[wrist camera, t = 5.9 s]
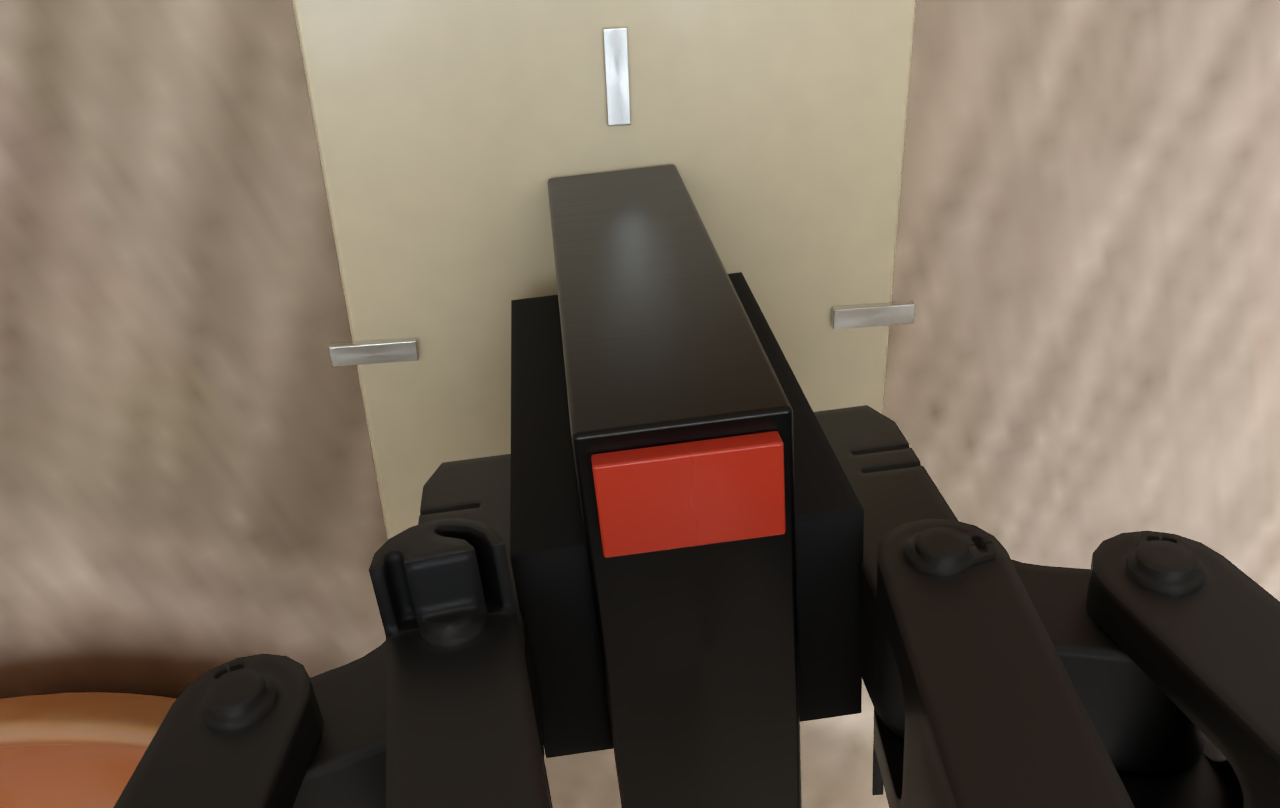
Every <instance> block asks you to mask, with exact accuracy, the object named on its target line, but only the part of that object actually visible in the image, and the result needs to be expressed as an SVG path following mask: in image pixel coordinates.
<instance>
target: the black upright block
mask: <svg viewBox="0 0 1280 808" xmlns="http://www.w3.org/2000/svg"><path fill="white" fill-rule="evenodd" d="M547 184H548V195H549V206H550V216H551V227H552V237H553V248H554V259H555V269H556V280H557V290H558V301H559V311H560V322H561V333H562V343H563V354H564V364H565V375H566V385H567V396H568V407H569V417H570V428H571V438H572V446H573V453H574V460H575V468H576V475H577V482H578V490H579V497H580V504H581V512H582V519H583V526H584V534H585V541H586V548H587V556H588V563H589V571H590V578H591V585H592V593H593V600H594V607H595V615H596V622H597V629H598V637H599V644H600V651H601V659H602V666H603V673H604V681H605V688H606V695H607V703H608V710H609V717H610V725H611V732H612V739H613V747H614V754H615V761H616V769H617V776H618V783H619V791H620V798H621V805H622V808H802V807H801V761H800V716H799V670H798V624H797V579H796V533H795V487H794V442H793V410H792V408H791V405H790V403H789V401H788V399H787V397H786V395H785V393H784V391H783V389H782V387H781V385H780V383H779V380H778V378H777V376H776V374H775V372H774V370H773V368H772V366H771V364H770V362H769V360H768V357H767V355H766V353H765V351H764V349H763V347H762V345H761V343H760V341H759V339H758V337H757V335H756V332H755V330H754V328H753V326H752V324H751V322H750V320H749V318H748V316H747V314H746V312H745V310H744V307H743V305H742V303H741V301H740V299H739V297H738V295H737V293H736V291H735V289H734V287H733V284H732V282H731V280H730V278H729V276H728V274H727V272H726V270H725V268H724V266H723V264H722V262H721V259H720V257H719V255H718V253H717V251H716V249H715V247H714V245H713V243H712V241H711V239H710V237H709V234H708V232H707V230H706V228H705V226H704V224H703V222H702V220H701V218H700V216H699V214H698V211H697V209H696V207H695V205H694V203H693V201H692V199H691V197H690V195H689V193H688V191H687V189H686V186H685V184H684V182H683V180H682V178H681V176H680V174H679V172H678V170H677V168H676V166H675V165H664V166H655V167H647V168H638V169H629V170H621V171H612V172H603V173H595V174H586V175H577V176H569V177H560V178H551V179H549V180H548V182H547Z"/></svg>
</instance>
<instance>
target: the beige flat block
mask: <svg viewBox="0 0 1280 808" xmlns="http://www.w3.org/2000/svg"><path fill="white" fill-rule="evenodd" d="M292 3H293V9H294V14H295V20H296V26H297V31H298V37H299V43H300V48H301V54H302V60H303V65H304V71H305V77H306V82H307V88H308V93H309V99H310V105H311V110H312V116H313V122H314V127H315V133H316V139H317V144H318V150H319V156H320V161H321V167H322V172H323V178H324V184H325V189H326V195H327V201H328V206H329V212H330V218H331V223H332V229H333V235H334V240H335V246H336V251H337V257H338V263H339V268H340V274H341V280H342V285H343V291H344V297H345V302H346V308H347V314H348V319H349V325H350V330H351V336H352V342H346V343H332V344H330V345H329V352H330V358H331V363H332V367H338V366H351V365H357V370H358V376H359V381H360V387H361V393H362V398H363V404H364V409H365V415H366V421H367V426H368V432H369V438H370V443H371V449H372V455H373V460H374V466H375V472H376V477H377V483H378V488H379V494H380V500H381V505H382V511H383V517H384V522H385V528H386V534H387V539H388V540H389V539H390V538H392V537H394V536H395V535H397V534H399V533H401V532H403V531H404V530H406V529H408V528H410V527H412V526H416V525H418V521H419V515H420V506H421V499H422V492H423V486H424V485H425V483H426V482H427V481H428V480H429V478H430V477H431V476H432V475H433V473H434V472H435V471H436V470H437V468H438V467H439V466H440V465H441V464H442V463H443V462H451V461H459V460H466V459H474V458H482V457H490V456H497V455H505V454H511V300H518V299H526V298H534V297H542V296H551V295H558V290H557V280H556V269H555V259H554V248H553V237H552V227H551V216H550V206H549V195H548V184H547V182H548V180H549V179H551V178H560V177H569V176H577V175H586V174H595V173H603V172H612V171H621V170H629V169H638V168H647V167H655V166H664V165H675V166H676V168H677V170H678V172H679V174H680V176H681V178H682V180H683V182H684V184H685V186H686V189H687V191H688V193H689V195H690V197H691V199H692V201H693V203H694V205H695V207H696V209H697V211H698V214H699V216H700V218H701V220H702V222H703V224H704V226H705V228H706V230H707V232H708V234H709V237H710V239H711V241H712V243H713V245H714V247H715V249H716V251H717V253H718V255H719V257H720V259H721V262H722V264H723V266H724V268H725V270H726V272H727V274H731V273H739V272H742V274H743V276H744V278H745V280H746V282H747V284H748V285H749V287H750V289H751V291H752V293H753V295H754V297H755V299H756V301H757V303H758V305H759V307H760V309H761V311H762V313H763V315H764V317H765V319H766V321H767V323H768V324H769V326H770V328H771V330H772V332H773V334H774V336H775V338H776V340H777V342H778V344H779V346H780V348H781V350H782V352H783V354H784V356H785V358H786V360H787V361H788V363H789V365H790V367H791V369H792V371H793V373H794V375H795V377H796V379H797V381H798V383H799V385H800V387H801V389H802V391H803V393H804V395H805V397H806V398H807V400H808V402H809V404H810V406H811V408H812V410H813V412H817V411H825V410H833V409H841V408H848V407H856V406H864V405H868V406H869V407H871V408H873V409H874V410H876V411H878V412H879V413H881V414H882V409H883V397H884V385H885V373H886V360H887V348H888V336H889V325H897V324H910V323H914V316H915V303H914V302H913V301H904V302H891V300H892V288H893V276H894V263H895V251H896V239H897V227H898V215H899V203H900V191H901V178H902V166H903V154H904V142H905V130H906V118H907V106H908V93H909V81H910V69H911V57H912V45H913V33H914V21H915V8H916V0H292Z"/></svg>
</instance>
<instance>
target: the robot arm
mask: <svg viewBox="0 0 1280 808" xmlns="http://www.w3.org/2000/svg"><path fill="white" fill-rule="evenodd" d="M728 276H729V278H730V280H731V282H732V284H733V287H734V289H735V291H736V293H737V295H738V297H739V299H740V301H741V303H742V305H743V307H744V310H745V312H746V314H747V316H748V318H749V320H750V322H751V324H752V326H753V328H754V330H755V332H756V335H757V337H758V339H759V341H760V343H761V345H762V347H763V349H764V351H765V353H766V355H767V357H768V360H769V362H770V364H771V366H772V368H773V370H774V372H775V374H776V376H777V378H778V380H779V383H780V385H781V387H782V389H783V391H784V393H785V395H786V397H787V399H788V401H789V403H790V405H791V408H792V410H793V442H794V487H795V533H796V579H797V624H798V670H799V716H800V721H807V720H814V719H821V718H828V717H835V716H843V715H850V714H857V713H861V689H862V679H863V681H864V684H865V686H866V688H867V691H868V693H869V696H870V698H871V701H872V703H873V705H874V744H873V795H881V794H883V784H884V788H885V792H886V796H887V800H888V804H889V808H1280V602H1279V601H1278V600H1277V599H1276V598H1274V597H1273V596H1272V595H1271V594H1269V593H1268V592H1267V591H1266V590H1264V589H1263V588H1262V587H1261V586H1259V585H1258V584H1257V583H1256V582H1255V581H1253V580H1252V579H1251V578H1250V577H1248V576H1247V575H1246V574H1245V573H1243V572H1242V571H1241V570H1240V569H1238V568H1237V567H1236V566H1235V565H1233V564H1232V563H1231V562H1230V561H1229V560H1227V559H1226V558H1225V557H1224V556H1222V555H1220V554H1219V553H1217V552H1215V551H1214V550H1212V549H1210V548H1209V547H1207V546H1205V545H1204V544H1202V543H1200V542H1197V541H1194V540H1191V539H1188V538H1185V537H1181V536H1178V535H1175V534H1169V533H1163V532H1162V533H1160V532H1152V531H1141V532H1131V533H1122V534H1119V535H1117V536H1114V537H1112V538H1110V539H1107V540H1105V541H1103V542H1102V543H1101V544H1100V546H1099V547H1098V548H1097V549H1096V550H1095V552H1094V553H1093V556H1092V563H1091V570H1090V569H1076V568H1063V567H1050V566H1040V565H1033V564H1026V563H1021V562H1018V561H1014V560H1011V559H1010V557H1009V555H1008V553H1007V551H1006V549H1005V548H1004V547H1003V546H1002V545H1001V544H1000V542H999V541H998V540H997V539H996V538H995V537H994V536H992V535H991V534H989V533H987V532H985V531H983V530H982V529H980V528H978V527H976V526H974V525H970V524H966V523H962V522H959V521H958V520H957V518H956V517H955V515H954V514H953V512H952V510H951V509H950V507H949V506H948V504H947V503H946V501H945V500H944V498H943V496H942V495H941V493H940V492H939V490H938V489H937V487H936V485H935V484H934V482H933V481H932V479H931V478H930V476H929V475H928V473H927V471H926V470H925V468H924V467H923V466H921V465H920V461H919V459H918V457H917V456H916V454H915V453H914V451H913V450H912V448H909V443H908V442H907V440H906V439H905V437H904V436H903V434H902V433H901V431H900V429H899V428H898V426H897V425H896V423H895V422H894V421H892V420H891V419H889V418H887V417H886V416H884V415H882V414H881V413H879V412H878V411H876V410H874V409H873V408H871V407H869V406H868V405H864V406H856V407H848V408H841V409H833V410H825V411H817V412H813V410H812V408H811V406H810V404H809V402H808V400H807V398H806V397H805V395H804V393H803V391H802V389H801V387H800V385H799V383H798V381H797V379H796V377H795V375H794V373H793V371H792V369H791V367H790V365H789V363H788V361H787V360H786V358H785V356H784V354H783V352H782V350H781V348H780V346H779V344H778V342H777V340H776V338H775V336H774V334H773V332H772V330H771V328H770V326H769V324H768V323H767V321H766V319H765V317H764V315H763V313H762V311H761V309H760V307H759V305H758V303H757V301H756V299H755V297H754V295H753V293H752V291H751V289H750V287H749V285H748V284H747V282H746V280H745V278H744V276H743V274H742V272H739V273H731V274H728ZM369 572H370V576H371V580H372V584H373V588H374V592H375V595H376V599H377V603H378V607H379V611H380V615H381V619H382V622H383V626H384V630H385V634H386V641H385V642H384V643H383V644H382V645H381V646H379V647H378V648H376V649H375V650H373V651H372V652H370V653H369V654H367V655H366V656H364V657H362V658H360V659H357V660H355V661H353V662H351V663H349V664H346V665H344V666H341V667H339V668H336V669H333V670H330V671H328V672H325V673H322V674H320V675H317V676H314V677H311V678H309V676H308V674H307V672H306V670H305V668H304V666H303V665H302V664H300V663H298V662H296V661H294V660H293V659H291V658H289V657H287V656H280V655H270V654H260V655H254V656H248V657H243V658H237V659H235V660H232V661H230V662H227V663H225V664H223V665H220V666H218V667H215V668H213V669H211V670H209V671H208V672H206V673H205V674H204V675H202V676H201V677H199V678H198V679H196V680H195V681H194V682H192V683H191V684H189V685H188V686H187V687H186V688H185V690H184V691H183V692H182V693H181V695H180V696H179V697H178V698H177V699H176V701H175V702H174V703H173V704H172V706H171V708H170V709H169V711H168V713H167V715H166V716H165V718H164V720H163V722H162V723H161V725H160V727H159V729H158V730H157V732H156V734H155V736H154V737H153V739H152V741H151V743H150V744H149V746H148V748H147V750H146V751H145V753H144V755H143V757H142V758H141V760H140V762H139V764H138V765H137V767H136V769H135V771H134V772H133V774H132V776H131V778H130V779H129V781H128V783H127V785H126V786H125V788H124V790H123V792H122V793H121V795H120V797H119V799H118V800H117V802H116V804H115V806H114V807H113V808H553V807H552V802H551V796H550V790H549V785H548V779H547V774H546V768H545V762H544V748H545V754H546V758H549V757H556V756H563V755H570V754H577V753H584V752H591V751H598V750H605V749H612V748H614V747H613V739H612V732H611V725H610V717H609V710H608V703H607V695H606V688H605V681H604V673H603V666H602V659H601V651H600V644H599V637H598V629H597V622H596V615H595V607H594V600H593V593H592V585H591V578H590V571H589V563H588V556H587V548H586V541H585V534H584V526H583V519H582V512H581V504H580V497H579V490H578V482H577V475H576V468H575V460H574V453H573V446H572V438H571V428H570V417H569V407H568V396H567V385H566V375H565V364H564V354H563V343H562V333H561V322H560V311H559V301H558V295H551V296H542V297H534V298H526V299H518V300H511V454H505V455H497V456H490V457H482V458H474V459H466V460H459V461H451V462H443V463H442V464H441V465H440V466H439V467H438V468H437V470H436V471H435V472H434V473H433V475H432V476H431V477H430V478H429V480H428V481H427V482H426V483H425V485H424V486H423V492H422V499H421V506H420V515H419V521H418V525H416V526H412V527H410V528H408V529H406V530H404V531H403V532H401V533H399V534H397V535H395V536H394V537H392V538H390V539H389V540H388V541H387V542H386V543H385V544H384V545H383V546H382V547H381V548H380V549H379V550H378V551H377V552H376V553H375V554H374V557H373V560H372V563H371V566H370V568H369Z"/></svg>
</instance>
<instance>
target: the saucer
mask: <svg viewBox="0 0 1280 808" xmlns="http://www.w3.org/2000/svg"><path fill="white" fill-rule="evenodd" d="M175 701H176V699H175V698H169V697H162V696H151V695H141V694H130V693H107V692H81V693H58V694H46V695H30V696H22V697H13V698H4V699H0V808H113V807H114V806H115V804H116V802H117V800H118V799H119V797H120V795H121V793H122V792H123V790H124V788H125V786H126V785H127V783H128V781H129V779H130V778H131V776H132V774H133V772H134V771H135V769H136V767H137V765H138V764H139V762H140V760H141V758H142V757H143V755H144V753H145V751H146V750H147V748H148V746H149V744H150V743H151V741H152V739H153V737H154V736H155V734H156V732H157V730H158V729H159V727H160V725H161V723H162V722H163V720H164V718H165V716H166V715H167V713H168V711H169V709H170V708H171V706H172V704H173V703H174V702H175Z"/></svg>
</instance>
